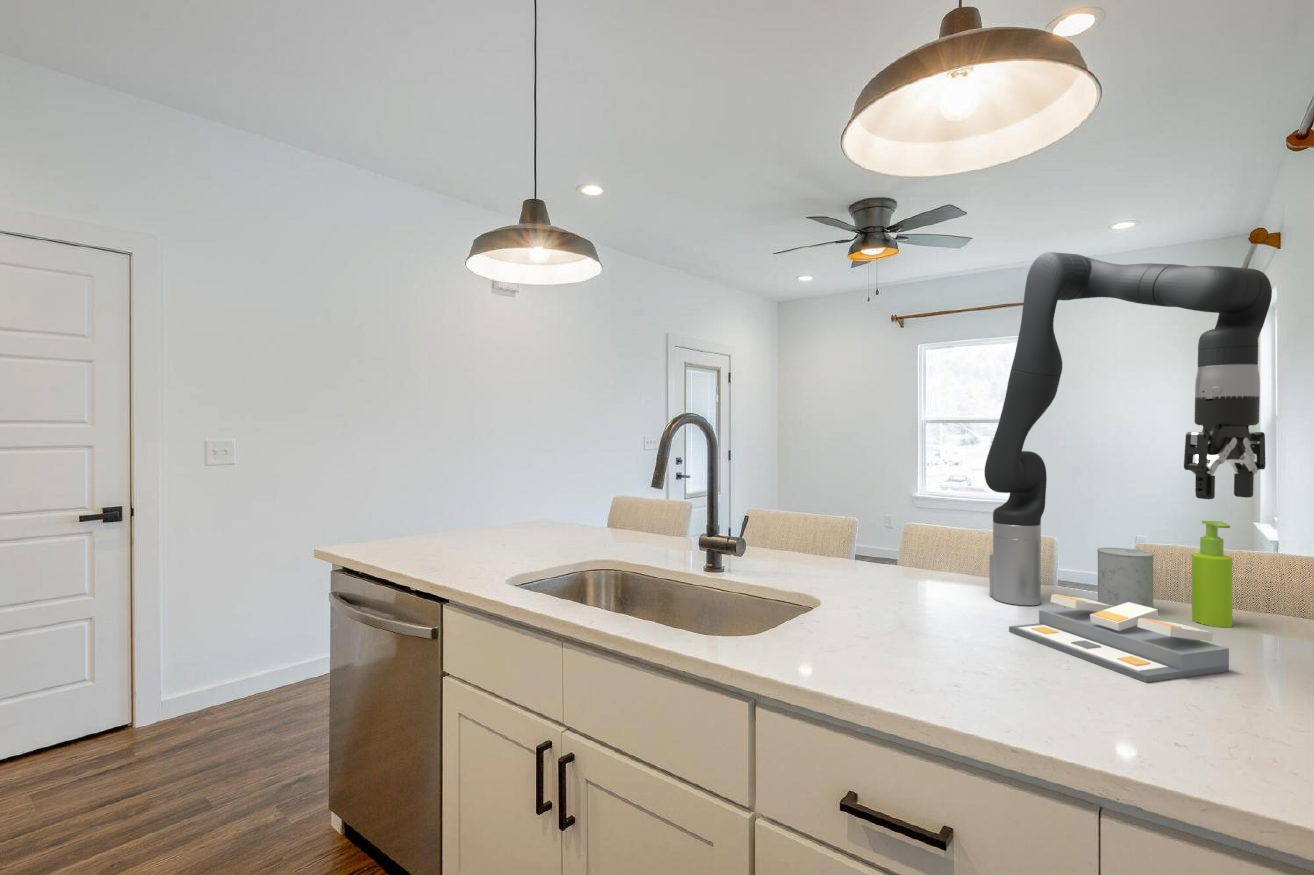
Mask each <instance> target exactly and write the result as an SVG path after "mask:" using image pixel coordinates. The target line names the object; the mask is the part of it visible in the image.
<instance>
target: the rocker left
mask: <svg viewBox="0 0 1314 875" xmlns="http://www.w3.org/2000/svg"><path fill="white" fill-rule="evenodd" d="M1050 603H1054V604H1057V605H1061V606H1064V607H1066V608H1068V607H1071V608H1074V609H1080V610H1088V611H1096V612H1099V611H1102V610H1105V609H1108V608H1112V607H1114V606H1112V605H1108V604H1104V603H1100V602H1098V600H1097V601H1096V600H1091V599H1089V598H1081V597H1073V596H1068V595H1063V594H1057V593H1054V594H1051V597H1050Z"/></svg>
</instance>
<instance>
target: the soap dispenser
mask: <svg viewBox="0 0 1314 875" xmlns="http://www.w3.org/2000/svg"><path fill="white" fill-rule="evenodd" d="M1201 524H1203V525H1205V535H1203V536H1200V539H1199V540H1200V543H1199V545H1200V546H1199V548H1200V552H1197V553H1196V552H1195V553H1192V554H1191V621H1192V620H1193V621H1192V622H1195V623H1196V622H1199V623H1201V624H1200V625H1203V624H1205V625H1204V626H1208V625H1209V627H1214V626H1215V628H1232V627H1233V557H1231V556H1228V555H1224V539H1223V538H1221V537H1220V536H1218V530H1219V529H1220V528H1222V529H1230V528H1231V525H1229V524H1228V523H1226V522H1223V521H1220V520H1217V521H1216V520H1201ZM1218 528H1219V529H1218ZM1199 623H1198V624H1199Z"/></svg>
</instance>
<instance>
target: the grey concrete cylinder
mask: <svg viewBox="0 0 1314 875" xmlns="http://www.w3.org/2000/svg"><path fill="white" fill-rule="evenodd" d="M1096 551H1097V602H1100V603H1104V604H1108V605H1112V606H1114V607H1115V606H1118V605H1121V604H1124V603H1127V602H1130V603H1134V604H1138V605H1142V606H1146V607H1150V608H1154V556H1155V555H1154V553H1153V552H1151V551H1147V550H1142V549H1134V548H1125V547H1098V548H1097V549H1096Z"/></svg>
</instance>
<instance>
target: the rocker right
mask: <svg viewBox="0 0 1314 875" xmlns="http://www.w3.org/2000/svg"><path fill="white" fill-rule="evenodd" d="M1137 627H1139V628H1143V629H1146V630H1150V631H1153V632H1157V633H1160V634H1163V635H1167V636H1171V637H1179V638H1187V639H1195V640H1200V641H1204V642H1213V634H1214V632H1211V631H1207V630H1204V629H1200V628H1197V627H1193V626H1189V625H1185V624H1182V623H1177V622H1170V621H1169V622H1168V621H1164V620H1163V621H1161V620H1156V619H1146V618H1142V619H1140V618H1138V625H1137Z"/></svg>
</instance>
